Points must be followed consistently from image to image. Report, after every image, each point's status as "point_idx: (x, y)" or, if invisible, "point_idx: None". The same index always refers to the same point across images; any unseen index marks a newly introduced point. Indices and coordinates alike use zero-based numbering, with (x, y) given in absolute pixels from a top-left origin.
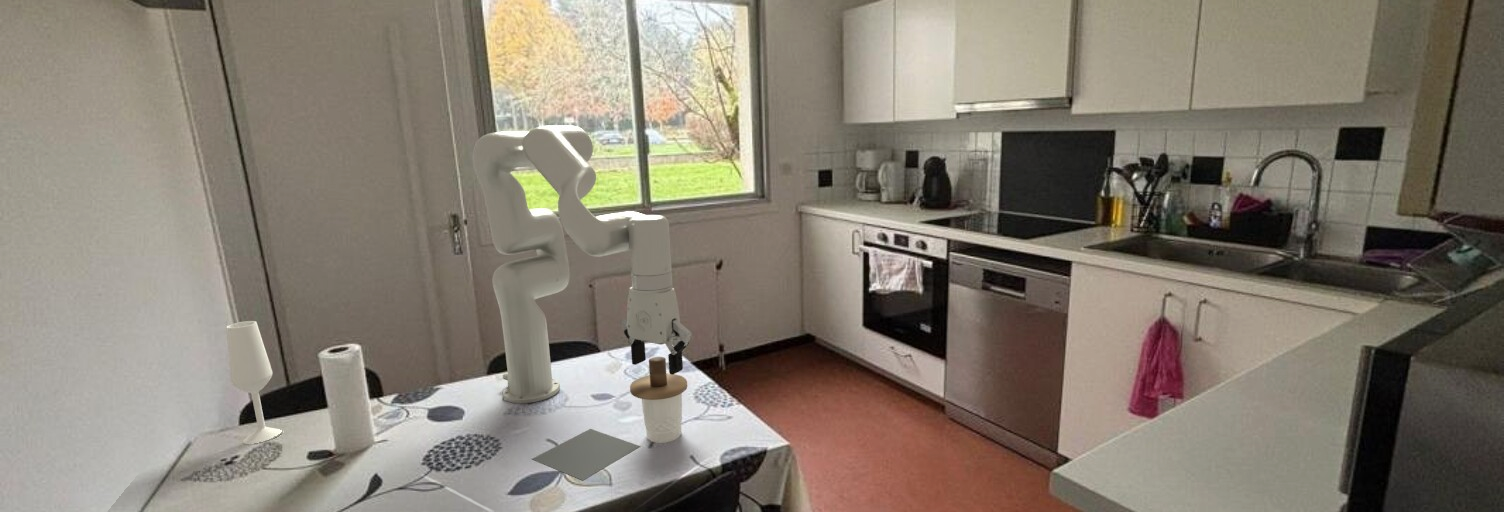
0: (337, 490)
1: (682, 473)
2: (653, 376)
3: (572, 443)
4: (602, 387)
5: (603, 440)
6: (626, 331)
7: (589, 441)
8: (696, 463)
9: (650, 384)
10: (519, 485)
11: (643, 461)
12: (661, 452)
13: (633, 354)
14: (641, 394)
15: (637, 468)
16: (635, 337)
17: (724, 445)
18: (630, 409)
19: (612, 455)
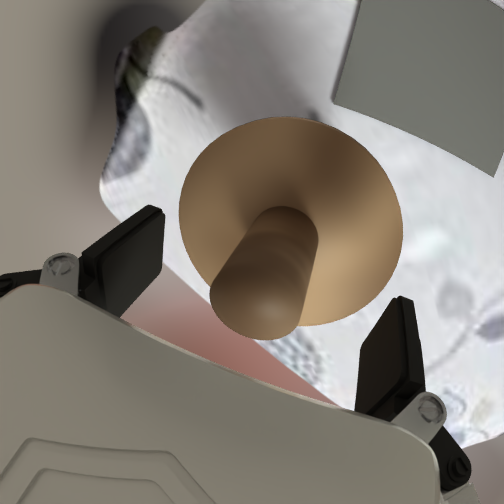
0: None
1: (185, 39)
2: (276, 227)
3: (500, 99)
4: (499, 357)
5: (440, 118)
6: (455, 475)
7: (470, 110)
8: (177, 82)
9: (311, 222)
10: None
11: (292, 48)
12: (272, 97)
13: (405, 335)
14: (304, 122)
15: (289, 19)
16: (351, 423)
17: (161, 166)
18: (434, 287)
19: (378, 48)
